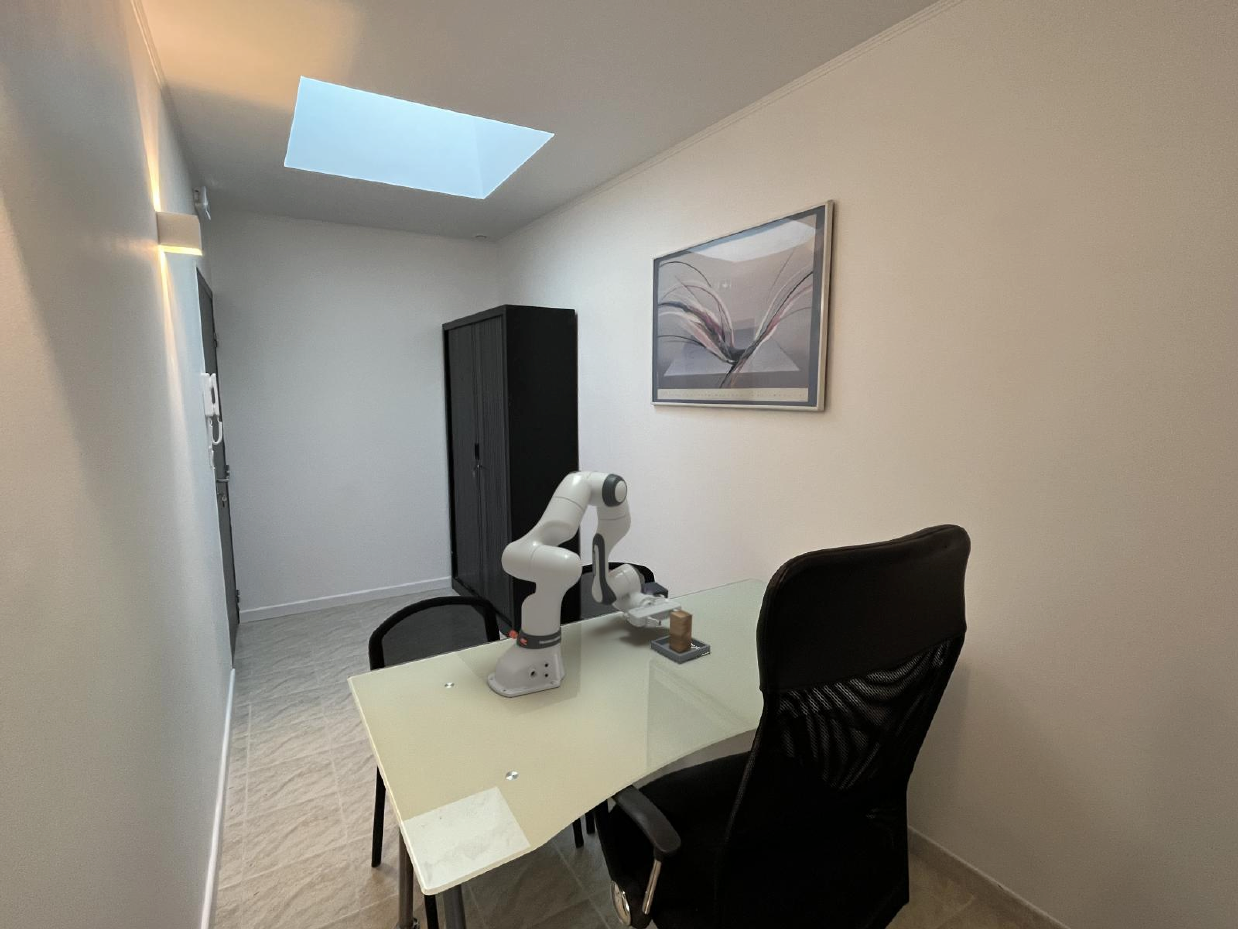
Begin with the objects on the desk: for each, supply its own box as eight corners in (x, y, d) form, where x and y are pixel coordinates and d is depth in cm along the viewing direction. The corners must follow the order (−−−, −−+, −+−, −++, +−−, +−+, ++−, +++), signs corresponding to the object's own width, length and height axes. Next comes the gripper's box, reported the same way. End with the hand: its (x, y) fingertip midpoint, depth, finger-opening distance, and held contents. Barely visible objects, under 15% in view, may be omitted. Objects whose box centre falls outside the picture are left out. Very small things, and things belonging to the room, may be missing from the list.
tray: (679, 664, 184) (679, 656, 184) (650, 648, 195) (650, 641, 194) (710, 653, 192) (710, 645, 192) (680, 638, 203) (681, 631, 203)
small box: (640, 609, 229) (640, 583, 228) (654, 607, 232) (655, 581, 231) (652, 619, 220) (653, 591, 219) (668, 616, 223) (669, 589, 221)
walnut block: (679, 654, 190) (680, 617, 188) (669, 648, 194) (670, 613, 192) (690, 650, 193) (692, 614, 191) (680, 644, 197) (681, 609, 195)
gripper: (619, 605, 200) (646, 618, 190) (665, 593, 213) (692, 605, 202) (619, 623, 201) (646, 637, 190) (664, 610, 214) (691, 622, 203)
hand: (670, 620), depth 196 cm, fingers open, 8 cm apart
